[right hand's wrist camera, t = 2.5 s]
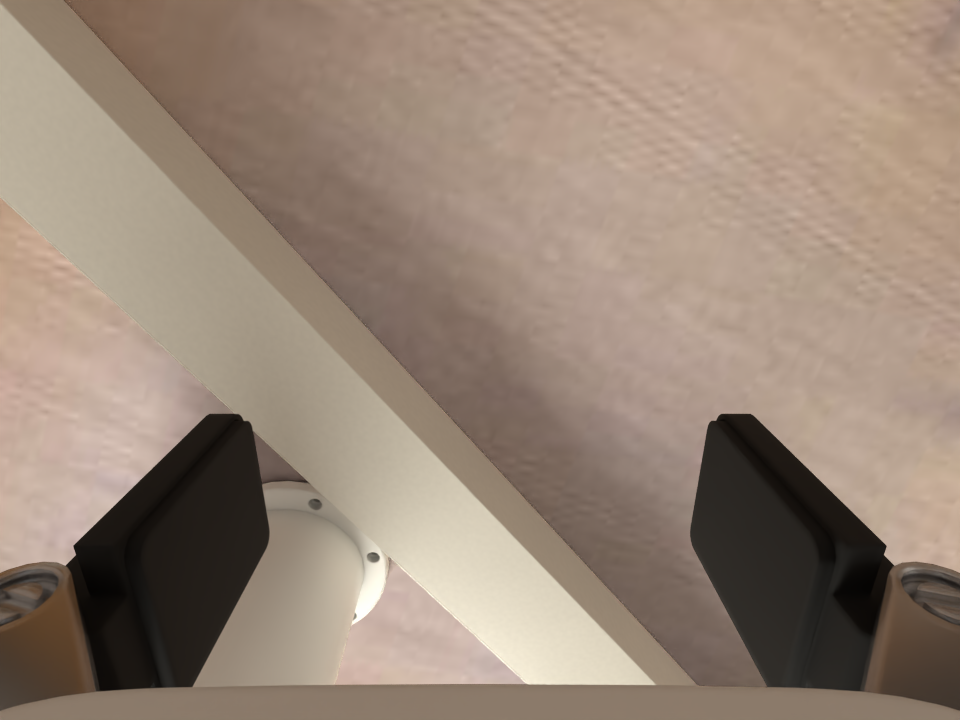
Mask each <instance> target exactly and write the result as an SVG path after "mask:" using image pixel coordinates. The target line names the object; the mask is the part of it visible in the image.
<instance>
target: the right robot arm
mask: <svg viewBox="0 0 960 720" xmlns="http://www.w3.org/2000/svg"><path fill="white" fill-rule="evenodd" d="M690 537H691V542H692V546H693V548H694V550H695V552H696V554H697V556H698V558H699V560H700V561H701V563H702V565H703V567H704V569H705V571H706V573H707V575H708V576H709V578H710V580H711V582H712V584H713V586H714V588H715V590H716V591H717V593H718V595H719V597H720V599H721V601H722V603H723V605H724V606H725V608H726V610H727V612H728V614H729V616H730V618H731V620H732V621H733V623H734V625H735V627H736V629H737V631H738V633H739V635H740V636H741V638H742V640H743V642H744V644H745V646H746V648H747V649H748V651H749V653H750V655H751V657H752V659H753V661H754V663H755V664H756V666H757V668H758V670H759V672H760V674H761V676H762V678H763V679H764V681H765V683H766V685H767V687H733V686H683V685H544V684H417V685H335V684H336V680H337V676H338V673H339V669H340V665H341V662H342V658H343V654H344V650H345V647H346V643H347V639H348V636H349V632H350V628H351V625H352V624H354V623H356V622H357V621H359V620H361V619H362V618H363V617H364V616H365V615H367V614H368V613H369V612H370V611H371V610H372V609H373V608H374V606H375V605H376V603H377V602H378V601H379V599H380V598H381V595H382V593H383V590H384V588H385V585H386V580H387V576H388V571H389V556H388V555H387V554H386V553H385V552H383V551H382V550H381V549H380V548H379V547H378V546H377V545H376V544H375V543H374V542H373V541H372V540H370V539H369V538H368V537H367V536H366V535H365V534H364V533H363V532H362V531H361V530H360V529H359V528H357V527H356V526H355V525H354V524H353V523H352V522H351V521H350V520H349V519H348V518H347V517H346V516H344V515H343V514H342V513H341V512H340V511H339V510H338V509H337V508H336V507H335V506H334V505H333V504H331V503H330V502H329V501H328V500H327V499H326V498H325V497H324V496H323V495H322V494H321V493H320V492H319V491H317V490H316V489H315V488H314V487H313V486H312V485H311V484H310V483H303V482H294V481H281V482H269V483H265V484H262V482H261V476H260V470H259V464H258V458H257V452H256V446H255V440H254V434H253V429H252V425H251V423H250V422H249V421H244V420H243V418H242V416H241V415H239V414H209V415H207V416H206V417H205V418H204V419H203V420H202V421H201V422H200V423H199V424H198V425H197V426H196V427H195V428H193V429H192V430H191V431H190V432H189V433H188V434H187V435H186V436H185V437H184V438H183V439H182V440H181V441H180V442H179V443H178V444H177V445H176V446H175V447H174V448H173V449H172V450H171V451H170V452H169V453H168V454H167V455H166V456H165V457H164V458H163V459H162V460H161V461H160V462H159V463H158V464H157V465H156V466H155V467H154V468H153V469H152V470H151V471H149V472H148V473H147V474H146V475H145V476H144V477H143V478H142V479H141V480H140V481H139V482H138V483H137V484H136V485H135V486H134V487H133V488H132V489H131V490H130V491H129V492H128V493H127V494H126V495H125V496H124V497H123V498H122V499H121V500H120V501H119V502H118V503H117V504H116V505H115V506H114V507H113V508H112V509H111V510H110V511H109V512H108V513H107V514H106V515H104V516H103V517H102V518H101V519H100V520H99V521H98V522H97V523H96V524H95V525H94V526H93V527H92V528H91V529H90V530H89V531H88V532H87V533H86V534H85V535H84V536H83V537H82V538H81V539H80V540H79V541H78V542H77V543H76V544H75V545H74V549H75V552H76V556H75V557H74V558H73V559H72V560H71V561H70V562H69V563H68V564H67V565H66V566H64V565H62V564H59V563H54V562H39V563H32V564H26V565H23V566H19V567H16V568H12V569H9V570H6V571H4V572H2V573H0V720H960V573H958V572H956V571H954V570H951V569H948V568H944V567H941V566H937V565H934V564H928V563H921V562H906V563H901V564H898V565H896V566H894V565H893V564H892V563H891V562H890V561H889V560H888V559H887V558H886V557H885V556H884V552H885V549H886V545H885V544H884V543H883V542H882V541H881V540H880V539H879V538H878V537H877V536H876V535H875V534H874V533H873V532H872V531H871V530H870V529H869V528H868V527H867V526H866V525H865V524H864V523H863V522H862V521H861V520H860V519H859V518H858V517H857V516H856V515H854V514H853V513H852V512H851V511H850V510H849V509H848V508H847V507H846V506H845V505H844V504H843V503H842V502H841V501H840V500H839V499H838V498H837V497H836V496H835V495H834V494H833V493H832V492H831V491H830V490H829V489H828V488H827V487H826V486H825V485H824V484H823V483H822V482H821V481H820V480H819V479H818V478H817V477H816V476H815V475H814V474H813V473H812V472H810V471H809V470H808V469H807V468H806V467H805V466H804V465H803V464H802V463H801V462H800V461H799V460H798V459H797V458H796V457H795V456H794V455H793V454H792V453H791V452H790V451H789V450H788V449H787V448H786V447H785V446H784V445H783V444H782V443H781V442H780V441H779V440H778V439H777V438H776V437H775V436H774V435H773V434H772V433H771V432H770V431H769V430H768V429H767V428H765V427H764V426H763V425H762V424H761V423H760V422H759V421H758V420H757V419H756V418H755V417H754V416H753V415H751V414H721V415H719V416H718V418H717V420H716V421H711V422H710V423H709V425H708V429H707V434H706V440H705V446H704V452H703V458H702V464H701V470H700V476H699V482H698V487H697V493H696V499H695V505H694V511H693V517H692V523H691V529H690Z"/></svg>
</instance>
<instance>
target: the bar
mask: <svg viewBox="0 0 960 720" xmlns="http://www.w3.org/2000/svg"><path fill="white" fill-rule="evenodd" d="M0 198H2V199H3V200H4V201H5V202H6V203H7V204H8V205H9V206H10V207H11V208H12V209H13V210H15V211H16V212H17V213H18V214H19V215H20V216H21V217H22V218H23V219H24V220H25V221H26V222H28V223H29V224H30V225H31V226H32V227H33V228H34V229H35V230H36V231H37V232H38V233H39V234H41V235H42V236H43V237H44V238H45V239H46V240H47V241H48V242H49V243H50V244H51V245H52V246H53V247H55V248H56V249H57V250H58V251H59V252H60V253H61V254H62V255H63V256H64V257H65V258H66V259H68V260H69V261H70V262H71V263H72V264H73V265H74V266H75V267H76V268H77V269H78V270H79V271H81V272H82V273H83V274H84V275H85V276H86V277H87V278H88V279H89V280H90V281H91V282H92V283H94V284H95V285H96V286H97V287H98V288H99V289H100V290H101V291H102V292H103V293H104V294H105V295H106V296H108V297H109V298H110V299H111V300H112V301H113V302H114V303H115V304H116V305H117V306H118V307H119V308H121V309H122V310H123V311H124V312H125V313H126V314H127V315H128V316H129V317H130V318H131V319H132V320H134V321H135V322H136V323H137V324H138V325H139V326H140V327H141V328H142V329H143V330H144V331H145V332H147V333H148V334H149V335H150V336H151V337H152V338H153V339H154V340H155V341H156V342H157V343H158V344H159V345H161V346H162V347H163V348H164V349H165V350H166V351H167V352H168V353H169V354H170V355H171V356H172V357H174V358H175V359H176V360H177V361H178V362H179V363H180V364H181V365H182V366H183V367H184V368H185V369H187V370H188V371H189V372H190V373H191V374H192V375H193V376H194V377H195V378H196V379H197V380H198V381H200V382H201V383H202V384H203V385H204V386H205V387H206V388H207V389H208V390H209V391H210V392H211V393H213V394H214V395H215V396H216V397H217V398H218V399H219V400H220V401H221V402H222V403H223V404H224V405H225V406H227V407H228V408H229V409H230V410H231V411H232V412H233V413H234V414H239V415H241V416H242V418H243V420H244V421H249V422H250V423H251V425H252V429H253V431H254V432H255V433H256V434H257V435H258V436H259V437H260V438H261V439H262V440H263V441H264V442H266V443H267V444H268V445H269V446H270V447H271V448H272V449H273V450H274V451H275V452H276V453H277V454H278V455H280V456H281V457H282V458H283V459H284V460H285V461H286V462H287V463H288V464H289V465H290V466H291V467H293V468H294V469H295V470H296V471H297V472H298V473H299V474H300V475H301V476H302V477H303V478H304V479H306V480H307V481H308V482H309V483H310V484H311V485H312V486H313V487H314V488H315V489H316V490H317V491H319V492H320V493H321V494H322V495H323V496H324V497H325V498H326V499H327V500H328V501H329V502H330V503H331V504H333V505H334V506H335V507H336V508H337V509H338V510H339V511H340V512H341V513H342V514H343V515H344V516H346V517H347V518H348V519H349V520H350V521H351V522H352V523H353V524H354V525H355V526H356V527H357V528H359V529H360V530H361V531H362V532H363V533H364V534H365V535H366V536H367V537H368V538H369V539H370V540H372V541H373V542H374V543H375V544H376V545H377V546H378V547H379V548H380V549H381V550H382V551H383V552H385V553H386V554H387V555H388V556H389V557H390V558H391V559H392V560H393V561H394V562H395V563H396V564H397V565H399V566H400V567H401V568H402V569H403V570H404V571H405V572H406V573H407V574H408V575H409V576H410V577H412V578H413V579H414V580H415V581H416V582H417V583H418V584H419V585H420V586H421V587H422V588H423V589H425V590H426V591H427V592H428V593H429V594H430V595H431V596H432V597H433V598H434V599H435V600H436V601H438V602H439V603H440V604H441V605H442V606H443V607H444V608H445V609H446V610H447V611H448V612H449V613H450V614H452V615H453V616H454V617H455V618H456V619H457V620H458V621H459V622H460V623H461V624H462V625H463V626H465V627H466V628H467V629H468V630H469V631H470V632H471V633H472V634H473V635H474V636H475V637H476V638H478V639H479V640H480V641H481V642H482V643H483V644H484V645H485V646H486V647H487V648H488V649H489V650H491V651H492V652H493V653H494V654H495V655H496V656H497V657H498V658H499V659H500V660H501V661H502V662H504V663H505V664H506V665H507V666H508V667H509V668H510V669H511V670H512V671H513V672H514V673H515V674H516V675H518V676H519V677H520V678H521V679H522V680H523V681H524V682H525V683H526V684H544V685H683V686H698V685H697V684H696V683H695V682H694V681H693V680H692V679H691V678H690V677H689V676H688V675H687V673H686V672H685V671H684V670H683V669H682V668H681V667H680V666H679V665H678V664H677V663H676V662H675V660H674V659H673V658H672V657H671V656H670V655H669V654H668V653H667V652H666V651H665V650H664V649H663V648H662V646H661V645H660V644H659V643H658V642H657V641H656V640H655V639H654V638H653V637H652V636H651V635H650V633H649V632H648V631H647V630H646V629H645V628H644V627H643V626H642V625H641V624H640V623H639V622H638V620H637V619H636V618H635V617H634V616H633V615H632V614H631V613H630V612H629V611H628V610H627V609H626V608H625V606H624V605H623V604H622V603H621V602H620V601H619V600H618V599H617V598H616V597H615V596H614V595H613V593H612V592H611V591H610V590H609V589H608V588H607V587H606V586H605V585H604V584H603V583H602V582H601V580H600V579H599V578H598V577H597V576H596V575H595V574H594V573H593V572H592V571H591V570H590V569H589V568H588V566H587V565H586V564H585V563H584V562H583V561H582V560H581V559H580V558H579V557H578V556H577V555H576V553H575V552H574V551H573V550H572V549H571V548H570V547H569V546H568V545H567V544H566V543H565V542H564V540H563V539H562V538H561V537H560V536H559V535H558V534H557V533H556V532H555V531H554V530H553V529H552V528H551V526H550V525H549V524H548V523H547V522H546V521H545V520H544V519H543V518H542V517H541V516H540V515H539V513H538V512H537V511H536V510H535V509H534V508H533V507H532V506H531V505H530V504H529V503H528V502H527V500H526V499H525V498H524V497H523V496H522V495H521V494H520V493H519V492H518V491H517V490H516V489H515V488H514V486H513V485H512V484H511V483H510V482H509V481H508V480H507V479H506V478H505V477H504V476H503V475H502V473H501V472H500V471H499V470H498V469H497V468H496V467H495V466H494V465H493V464H492V463H491V462H490V460H489V459H488V458H487V457H486V456H485V455H484V454H483V453H482V452H481V451H480V450H479V449H478V448H477V446H476V445H475V444H474V443H473V442H472V441H471V440H470V439H469V438H468V437H467V436H466V435H465V433H464V432H463V431H462V430H461V429H460V428H459V427H458V426H457V425H456V424H455V423H454V422H453V421H452V419H451V418H450V417H449V416H448V415H447V414H446V413H445V412H444V411H443V410H442V409H441V408H440V406H439V405H438V404H437V403H436V402H435V401H434V400H433V399H432V398H431V397H430V396H429V395H428V393H427V392H426V391H425V390H424V389H423V388H422V387H421V386H420V385H419V384H418V383H417V382H416V381H415V379H414V378H413V377H412V376H411V375H410V374H409V373H408V372H407V371H406V370H405V369H404V368H403V366H402V365H401V364H400V363H399V362H398V361H397V360H396V359H395V358H394V357H393V356H392V355H391V353H390V352H389V351H388V350H387V349H386V348H385V347H384V346H383V345H382V344H381V343H380V342H379V341H378V339H377V338H376V337H375V336H374V335H373V334H372V333H371V332H370V331H369V330H368V329H367V328H366V326H365V325H364V324H363V323H362V322H361V321H360V320H359V319H358V318H357V317H356V316H355V315H354V313H353V312H352V311H351V310H350V309H349V308H348V307H347V306H346V305H345V304H344V303H343V302H342V301H341V299H340V298H339V297H338V296H337V295H336V294H335V293H334V292H333V291H332V290H331V289H330V288H329V286H328V285H327V284H326V283H325V282H324V281H323V280H322V279H321V278H320V277H319V276H318V275H317V273H316V272H315V271H314V270H313V269H312V268H311V267H310V266H309V265H308V264H307V263H306V262H305V261H304V259H303V258H302V257H301V256H300V255H299V254H298V253H297V252H296V251H295V250H294V249H293V248H292V246H291V245H290V244H289V243H288V242H287V241H286V240H285V239H284V238H283V237H282V236H281V235H280V234H279V232H278V231H277V230H276V229H275V228H274V227H273V226H272V225H271V224H270V223H269V222H268V221H267V219H266V218H265V217H264V216H263V215H262V214H261V213H260V212H259V211H258V210H257V209H256V208H255V206H254V205H253V204H252V203H251V202H250V201H249V200H248V199H247V198H246V197H245V196H244V195H243V194H242V192H241V191H240V190H239V189H238V188H237V187H236V186H235V185H234V184H233V183H232V182H231V181H230V179H229V178H228V177H227V176H226V175H225V174H224V173H223V172H222V171H221V170H220V169H219V168H218V166H217V165H216V164H215V163H214V162H213V161H212V160H211V159H210V158H209V157H208V156H207V155H206V154H205V152H204V151H203V150H202V149H201V148H200V147H199V146H198V145H197V144H196V143H195V142H194V141H193V139H192V138H191V137H190V136H189V135H188V134H187V133H186V132H185V131H184V130H183V129H182V128H181V126H180V125H179V124H178V123H177V122H176V121H175V120H174V119H173V118H172V117H171V116H170V115H169V114H168V112H167V111H166V110H165V109H164V108H163V107H162V106H161V105H160V104H159V103H158V102H157V101H156V99H155V98H154V97H153V96H152V95H151V94H150V93H149V92H148V91H147V90H146V89H145V88H144V86H143V85H142V84H141V83H140V82H139V81H138V80H137V79H136V78H135V77H134V76H133V75H132V74H131V72H130V71H129V70H128V69H127V68H126V67H125V66H124V65H123V64H122V63H121V62H120V61H119V59H118V58H117V57H116V56H115V55H114V54H113V53H112V52H111V51H110V50H109V49H108V48H107V46H106V45H105V44H104V43H103V42H102V41H101V40H100V39H99V38H98V37H97V36H96V35H95V34H94V32H93V31H92V30H91V29H90V28H89V27H88V26H87V25H86V24H85V23H84V22H83V21H82V19H81V18H80V17H79V16H78V15H77V14H76V13H75V12H74V11H73V10H72V9H71V8H70V7H69V5H68V4H67V3H66V2H65V1H64V0H0Z"/></svg>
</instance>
